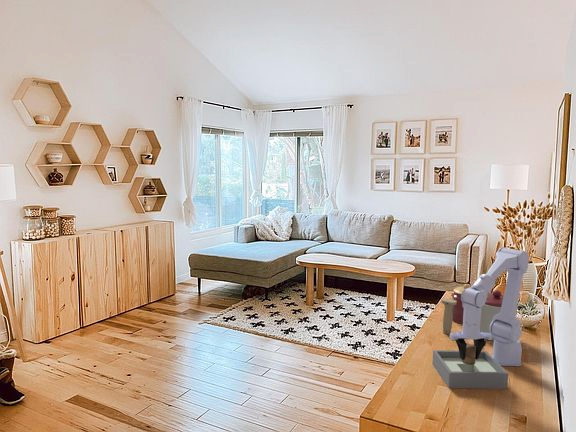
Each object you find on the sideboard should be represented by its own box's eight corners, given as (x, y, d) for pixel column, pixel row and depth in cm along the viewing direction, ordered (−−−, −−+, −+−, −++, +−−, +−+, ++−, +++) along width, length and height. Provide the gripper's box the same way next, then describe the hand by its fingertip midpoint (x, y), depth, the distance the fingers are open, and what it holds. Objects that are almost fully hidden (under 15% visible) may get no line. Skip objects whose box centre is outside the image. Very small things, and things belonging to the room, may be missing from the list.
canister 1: (443, 317, 228) (446, 281, 225) (464, 313, 233) (466, 279, 230) (463, 326, 216) (466, 289, 213) (484, 322, 221) (487, 286, 218)
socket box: (485, 364, 177) (486, 350, 176) (507, 388, 159) (508, 373, 158) (432, 364, 177) (433, 350, 176) (448, 387, 159) (449, 372, 158)
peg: (471, 359, 169) (472, 343, 169) (477, 364, 165) (478, 348, 164) (459, 359, 169) (460, 343, 168) (465, 365, 165) (466, 348, 164)
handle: (452, 336, 203) (454, 303, 201) (437, 332, 207) (439, 300, 205) (455, 333, 207) (458, 300, 205) (441, 329, 211) (443, 297, 209)
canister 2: (524, 346, 194) (528, 297, 191) (480, 345, 195) (484, 296, 192) (505, 329, 212) (508, 284, 209) (465, 328, 212) (468, 284, 210)
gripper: (486, 317, 169) (483, 353, 171) (447, 318, 168) (444, 353, 170) (495, 325, 162) (492, 362, 164) (455, 325, 161) (452, 362, 163)
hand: (468, 358), depth 167 cm, fingers closed on peg, 4 cm apart
